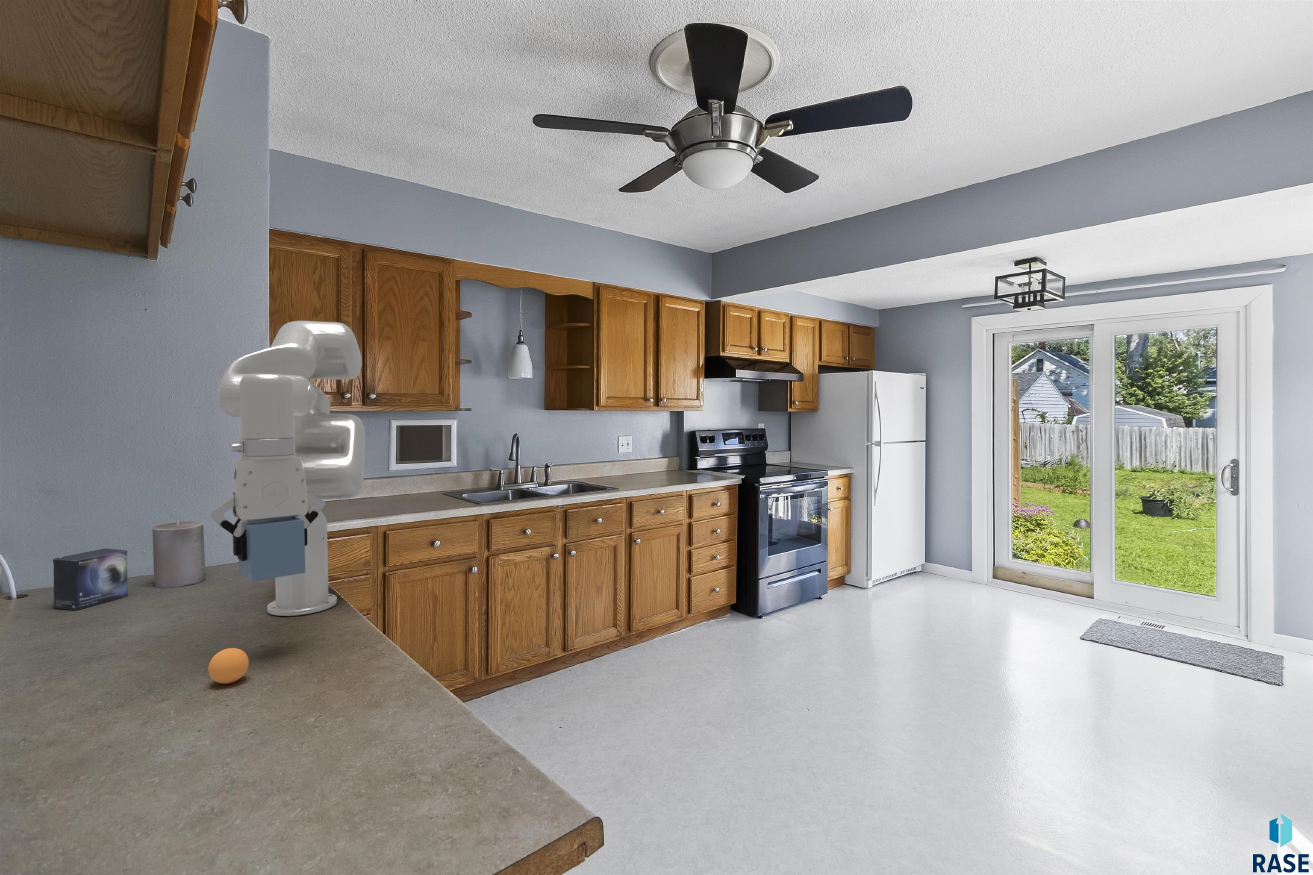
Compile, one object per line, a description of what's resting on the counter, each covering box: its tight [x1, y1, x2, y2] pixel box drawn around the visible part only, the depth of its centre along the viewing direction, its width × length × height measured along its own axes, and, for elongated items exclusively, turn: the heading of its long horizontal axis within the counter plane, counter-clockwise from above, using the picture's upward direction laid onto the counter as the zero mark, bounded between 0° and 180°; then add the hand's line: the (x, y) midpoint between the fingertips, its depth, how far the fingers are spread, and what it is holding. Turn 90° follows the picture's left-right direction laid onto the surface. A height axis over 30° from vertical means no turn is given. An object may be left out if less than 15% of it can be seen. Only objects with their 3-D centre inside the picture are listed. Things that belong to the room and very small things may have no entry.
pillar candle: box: [151, 519, 206, 589], centre depth 148 cm, size 10×10×15 cm
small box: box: [52, 547, 129, 611], centre depth 133 cm, size 11×6×10 cm, turn 168°
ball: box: [207, 647, 250, 685], centre depth 94 cm, size 5×5×5 cm
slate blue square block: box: [238, 517, 305, 583], centre depth 104 cm, size 8×8×9 cm
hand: (271, 554), depth 104 cm, fingers closed on slate blue square block, 7 cm apart
